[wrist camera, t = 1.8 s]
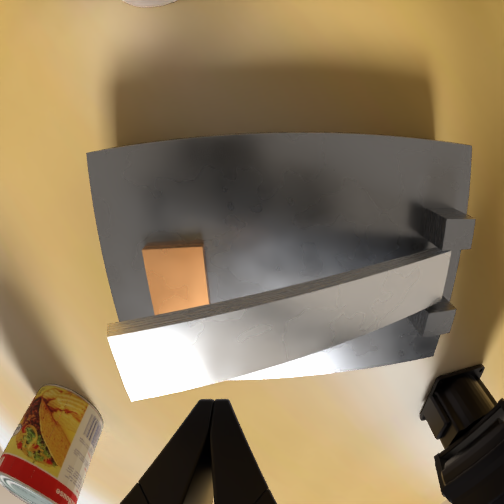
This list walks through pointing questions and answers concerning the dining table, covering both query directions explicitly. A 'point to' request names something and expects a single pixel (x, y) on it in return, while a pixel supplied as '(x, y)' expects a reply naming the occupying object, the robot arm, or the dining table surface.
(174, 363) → the steel strap
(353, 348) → the silver metal tray
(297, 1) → the dining table surface
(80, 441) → the canned food
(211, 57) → the dining table surface
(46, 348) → the dining table surface
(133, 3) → the coffee cup
